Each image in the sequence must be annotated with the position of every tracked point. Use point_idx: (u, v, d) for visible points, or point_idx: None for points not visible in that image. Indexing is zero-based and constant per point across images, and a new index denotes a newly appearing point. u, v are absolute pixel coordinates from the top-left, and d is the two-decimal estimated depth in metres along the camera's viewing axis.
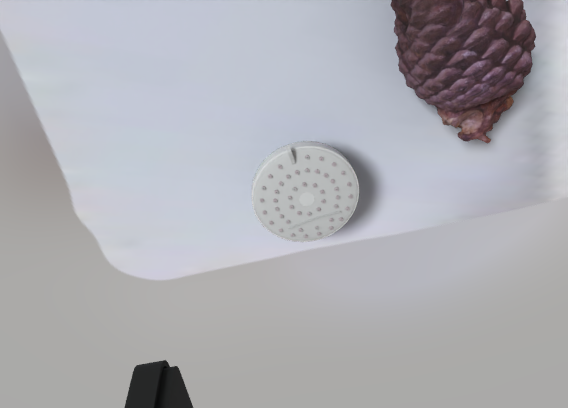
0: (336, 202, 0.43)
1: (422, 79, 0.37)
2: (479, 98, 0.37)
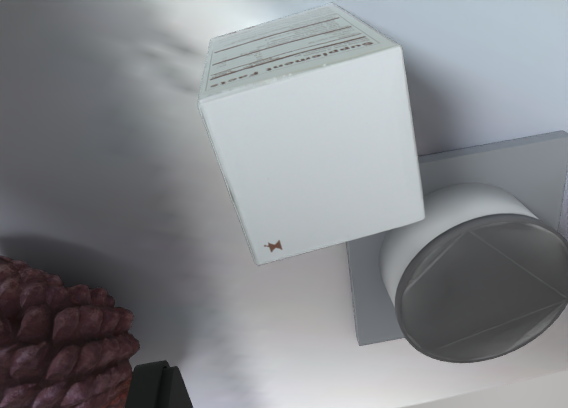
0: None
1: None
2: None
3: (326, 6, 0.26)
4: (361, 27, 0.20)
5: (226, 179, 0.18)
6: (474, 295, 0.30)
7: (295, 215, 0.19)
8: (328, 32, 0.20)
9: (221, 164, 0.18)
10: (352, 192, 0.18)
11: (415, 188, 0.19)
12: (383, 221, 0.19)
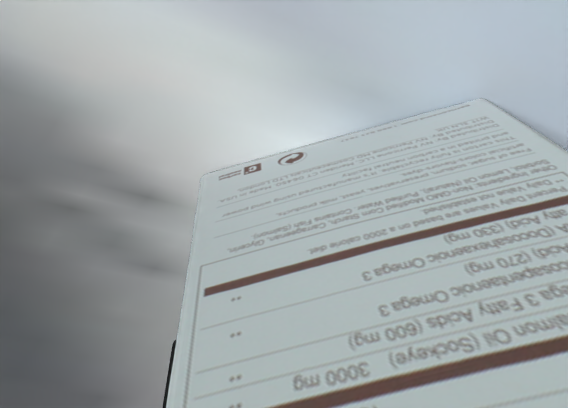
0: None
1: None
2: None
3: (480, 114, 0.11)
4: None
5: None
6: None
7: None
8: None
9: None
10: None
11: None
12: None
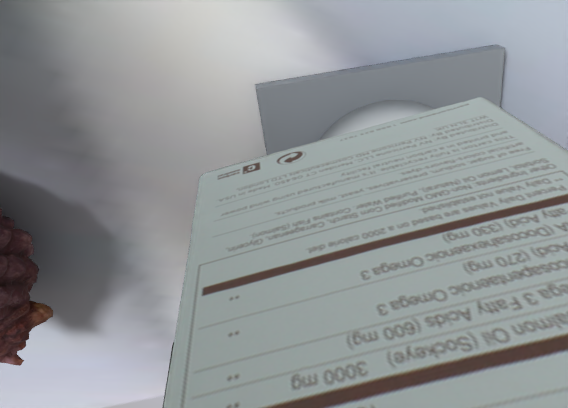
0: None
1: None
2: None
3: (479, 113, 0.11)
4: None
5: None
6: None
7: None
8: None
9: None
10: None
11: None
12: None
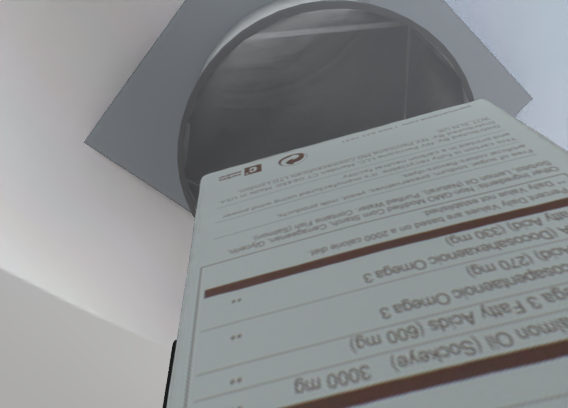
0: None
1: None
2: None
3: (481, 115, 0.11)
4: None
5: None
6: None
7: None
8: None
9: None
10: None
11: None
12: None
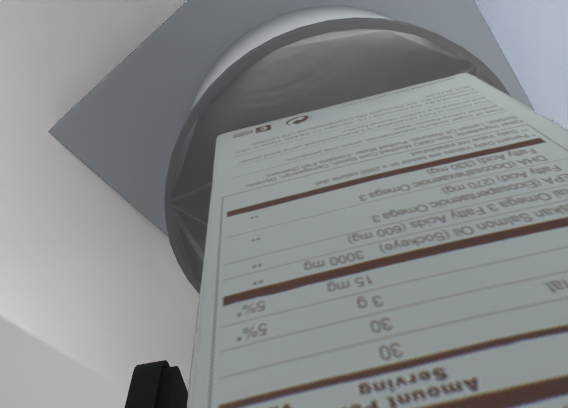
0: None
1: None
2: None
3: (463, 84, 0.12)
4: None
5: None
6: None
7: None
8: None
9: None
10: None
11: None
12: None
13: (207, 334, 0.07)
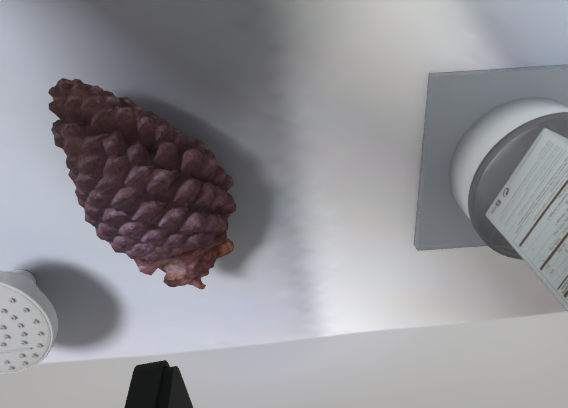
0: (23, 338, 0.37)
1: None
2: (151, 255, 0.32)
3: (547, 139, 0.31)
4: None
5: None
6: None
7: None
8: None
9: None
10: None
11: None
12: None
13: (543, 278, 0.28)
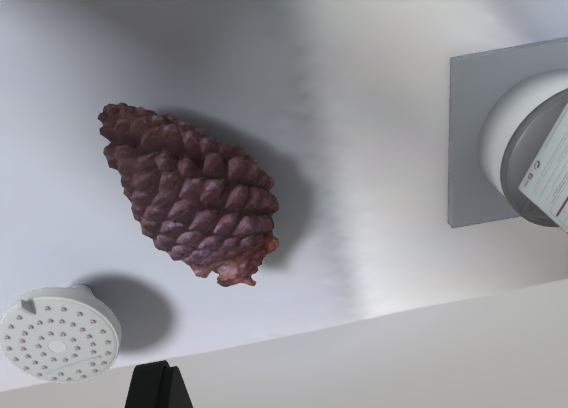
0: (92, 348, 0.40)
1: None
2: (207, 260, 0.34)
3: None
4: None
5: None
6: None
7: None
8: None
9: None
10: None
11: None
12: None
13: None
